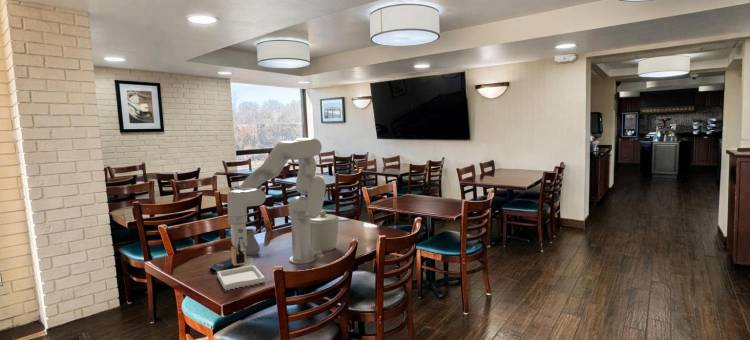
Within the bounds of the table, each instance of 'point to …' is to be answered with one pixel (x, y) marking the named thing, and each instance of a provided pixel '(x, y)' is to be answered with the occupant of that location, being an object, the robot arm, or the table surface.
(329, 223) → the canister
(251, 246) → the coffee pot
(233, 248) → the block
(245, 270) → the tray
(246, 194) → the robot arm
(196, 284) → the table surface
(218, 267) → the electronic device
